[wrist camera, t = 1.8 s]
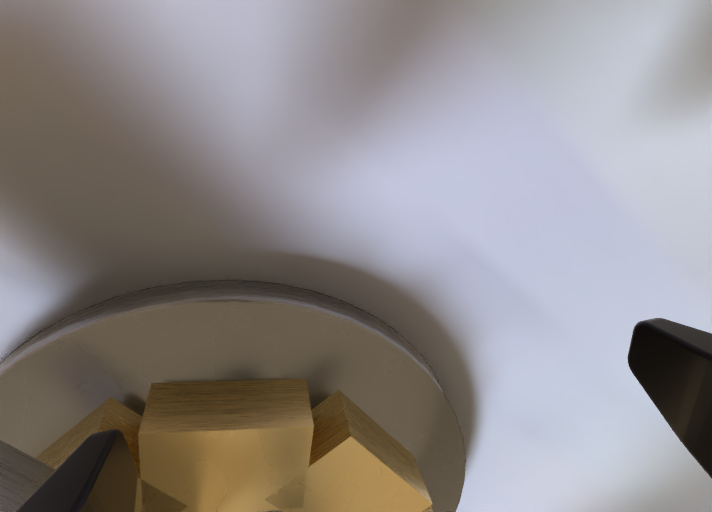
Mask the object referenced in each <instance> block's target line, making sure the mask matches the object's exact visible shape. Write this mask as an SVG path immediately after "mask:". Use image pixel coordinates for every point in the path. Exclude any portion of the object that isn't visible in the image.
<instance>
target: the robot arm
mask: <svg viewBox="0 0 712 512" xmlns="http://www.w3.org/2000/svg"><path fill="white" fill-rule="evenodd" d="M628 364H629V367H630V369H631V371H632V373H633V374H634V376H635V377H636V378H637V380H638V381H639V383H640V384H641V385H642V387H643V388H644V390H645V391H646V393H647V394H648V395H649V397H650V398H651V400H652V401H653V403H654V404H655V405H656V407H657V408H658V410H659V411H660V413H661V414H662V415H663V417H664V418H665V420H666V421H667V423H668V424H669V425H670V427H671V428H672V430H673V431H674V432H675V434H676V435H677V437H678V438H679V439H680V441H681V442H682V443H683V445H684V446H685V447H686V448H687V449H688V451H689V452H690V453H691V454H692V456H693V457H694V458H695V459H696V460H697V462H698V463H699V464H700V465H701V466H702V468H703V469H704V470H705V471H706V472H707V473H708V475H709V476H710V477H711V478H712V334H711V333H708V332H705V331H702V330H698V329H695V328H692V327H689V326H685V325H682V324H679V323H676V322H673V321H669V320H666V319H662V318H654V319H649V320H644V321H640V322H638V323H637V324H636V326H635V327H634V330H633V335H632V339H631V344H630V349H629V353H628ZM136 490H137V468H136V464H135V462H134V459H133V457H132V454H131V452H130V449H129V447H128V444H127V442H126V440H125V437H124V435H123V433H122V432H121V431H120V430H118V429H112V430H107V431H102V432H97V433H94V434H91V435H90V436H88V437H87V438H86V439H85V440H84V441H83V442H82V443H81V444H80V445H79V446H78V447H77V448H76V449H75V450H74V452H73V453H72V454H71V455H70V456H69V457H68V458H67V459H66V460H65V461H64V462H63V463H62V464H61V465H60V466H59V467H58V468H57V469H56V470H55V471H54V472H53V473H52V474H51V475H50V476H49V477H48V478H47V480H46V481H45V482H44V483H43V484H42V485H41V486H40V487H39V488H38V489H37V490H36V491H35V492H34V493H33V494H32V495H31V496H30V497H29V498H28V499H27V500H26V501H25V502H24V503H23V504H22V505H21V506H20V508H19V509H18V510H17V511H16V512H135V501H136Z"/></svg>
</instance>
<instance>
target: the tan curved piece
mask: <svg viewBox="0 0 712 512" xmlns="http://www.w3.org/2000/svg"><path fill="white" fill-rule="evenodd" d="M112 429H118V430H120V431H121V432H122V433H123V435H124V437H125V440H126V442H127V444H128V447H129V449H130V452H131V454H132V457H133V459H134V462H135V464H136V468H137V490H136V501H135V512H262V511H273V510H281V511H283V512H433V510H432V507H431V505H432V501H431V499H430V496H429V494H428V491H427V488H426V486H425V483H424V481H423V478H422V476H421V473H420V471H419V468H418V466H417V463H416V460H415V458H414V456H413V455H412V454H411V453H410V452H409V451H408V450H406V449H405V448H404V447H403V446H402V445H401V444H400V443H399V442H397V441H396V440H395V439H394V438H393V437H392V436H391V435H390V434H388V433H387V432H386V431H385V430H384V429H383V428H382V427H381V426H379V425H378V424H377V423H376V422H375V421H374V420H373V419H371V418H370V417H369V416H368V415H367V414H366V413H365V412H364V411H362V410H361V409H360V408H359V407H358V406H357V405H356V404H355V403H353V402H352V401H351V400H350V399H349V398H348V397H347V396H346V395H344V394H343V393H342V392H341V391H340V390H337V391H336V392H335V393H333V394H332V395H331V396H329V397H328V398H327V399H325V400H324V401H323V402H321V403H320V404H319V405H317V406H316V407H315V408H313V409H312V410H311V406H310V400H309V394H308V389H307V383H306V379H284V380H245V381H207V382H168V383H151V387H150V390H149V394H148V398H147V402H146V406H145V410H144V413H143V417H141V416H140V415H138V414H137V413H135V412H134V411H132V410H131V409H129V408H128V407H126V406H124V405H123V404H121V403H120V402H118V401H117V400H115V399H114V398H112V397H110V398H109V399H107V400H106V401H105V402H104V403H102V404H101V405H100V406H99V407H97V408H96V409H95V410H94V411H92V412H91V413H90V414H89V415H87V416H86V417H85V418H84V419H83V420H81V421H80V422H79V423H78V424H76V425H75V426H74V427H73V428H71V429H70V430H69V431H68V432H66V433H65V434H64V435H63V436H61V437H60V438H59V439H58V440H56V441H55V442H54V443H53V444H51V445H50V446H49V447H48V448H46V449H45V450H44V451H43V452H42V453H40V454H39V455H38V456H37V457H35V458H33V457H31V456H30V455H28V454H26V453H24V452H22V451H20V450H18V449H16V448H14V447H13V446H11V445H9V444H7V443H5V442H3V441H1V440H0V512H16V511H17V510H18V509H19V508H20V506H21V505H22V504H23V503H24V502H25V501H26V500H27V499H28V498H29V497H30V496H31V495H32V494H33V493H34V492H35V491H36V490H37V489H38V488H39V487H40V486H41V485H42V484H43V483H44V482H45V481H46V480H47V478H48V477H49V476H50V475H51V474H52V473H53V472H54V471H55V470H56V469H57V468H58V467H59V466H60V465H61V464H62V463H63V462H64V461H65V460H66V459H67V458H68V457H69V456H70V455H71V454H72V453H73V452H74V450H75V449H76V448H77V447H78V446H79V445H80V444H81V443H82V442H83V441H84V440H85V439H86V438H87V437H88V436H90V435H91V434H94V433H97V432H102V431H107V430H112Z"/></svg>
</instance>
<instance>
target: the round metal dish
mask: <svg viewBox="0 0 712 512" xmlns="http://www.w3.org/2000/svg"><path fill="white" fill-rule="evenodd" d="M284 379H306V383H307V389H308V394H309V400H310V406H311V410H312V409H313V408H315V407H316V406H317V405H319V404H320V403H321V402H323V401H324V400H325V399H327V398H328V397H329V396H331V395H332V394H333V393H335V392H336V391H337V390H340V391H341V392H342V393H343V394H344V395H346V396H347V397H348V398H349V399H350V400H351V401H352V402H353V403H355V404H356V405H357V406H358V407H359V408H360V409H361V410H362V411H364V412H365V413H366V414H367V415H368V416H369V417H370V418H371V419H373V420H374V421H375V422H376V423H377V424H378V425H379V426H381V427H382V428H383V429H384V430H385V431H386V432H387V433H388V434H390V435H391V436H392V437H393V438H394V439H395V440H396V441H397V442H399V443H400V444H401V445H402V446H403V447H404V448H405V449H406V450H408V451H409V452H410V453H411V454H412V455H413V456H414V458H415V460H416V463H417V466H418V468H419V471H420V473H421V476H422V478H423V481H424V483H425V486H426V488H427V491H428V494H429V496H430V499H431V501H432V505H431V507H432V510H433V512H456V509H457V507H458V504H459V501H460V497H461V493H462V488H463V484H464V477H465V460H466V459H465V450H464V442H463V436H462V433H461V430H460V427H459V423H458V420H457V417H456V415H455V413H454V411H453V409H452V407H451V406H450V404H449V402H448V400H447V398H446V396H445V394H444V392H443V391H442V389H441V387H440V385H439V383H438V381H437V380H436V378H435V376H434V374H433V372H432V370H431V369H430V367H429V366H428V365H427V363H426V362H425V361H424V360H423V358H422V357H421V356H420V355H419V353H418V352H417V351H416V349H415V348H413V347H412V346H411V345H410V344H409V343H408V342H407V341H406V340H405V339H404V338H403V337H401V336H400V335H399V334H398V333H397V332H396V331H395V330H393V329H392V328H390V327H389V326H387V325H386V324H384V323H383V322H381V321H380V320H378V319H377V318H375V317H374V316H372V315H371V314H369V313H367V312H364V311H362V310H360V309H358V308H356V307H354V306H352V305H350V304H348V303H346V302H344V301H341V300H338V299H335V298H332V297H329V296H326V295H323V294H320V293H317V292H314V291H311V290H306V289H301V288H296V287H291V286H286V285H281V284H276V283H266V282H254V281H241V280H222V281H194V282H187V283H180V284H173V285H167V286H160V287H153V288H149V289H146V290H142V291H138V292H134V293H130V294H127V295H123V296H119V297H115V298H112V299H110V300H107V301H105V302H102V303H99V304H97V305H94V306H92V307H89V308H87V309H84V310H82V311H79V312H76V313H74V314H73V315H71V316H69V317H67V318H65V319H63V320H62V321H60V322H58V323H56V324H54V325H52V326H50V327H49V328H47V329H45V330H43V331H41V332H40V333H38V334H37V335H36V336H34V337H33V338H32V339H30V340H29V341H27V342H26V343H25V344H23V345H22V346H21V347H19V348H18V349H16V350H15V351H14V352H12V353H11V354H10V355H9V356H8V357H7V358H6V359H5V360H4V361H3V362H2V363H1V364H0V440H1V441H3V442H5V443H7V444H9V445H11V446H13V447H14V448H16V449H18V450H20V451H22V452H24V453H26V454H28V455H30V456H31V457H33V458H35V457H37V456H38V455H39V454H40V453H42V452H43V451H44V450H45V449H46V448H48V447H49V446H50V445H51V444H53V443H54V442H55V441H56V440H58V439H59V438H60V437H61V436H63V435H64V434H65V433H66V432H68V431H69V430H70V429H71V428H73V427H74V426H75V425H76V424H78V423H79V422H80V421H81V420H83V419H84V418H85V417H86V416H87V415H89V414H90V413H91V412H92V411H94V410H95V409H96V408H97V407H99V406H100V405H101V404H102V403H104V402H105V401H106V400H107V399H109V398H110V397H112V398H114V399H115V400H117V401H118V402H120V403H121V404H123V405H124V406H126V407H128V408H129V409H131V410H132V411H134V412H135V413H137V414H138V415H140V416H141V417H143V413H144V410H145V406H146V402H147V398H148V394H149V390H150V387H151V383H168V382H207V381H245V380H284ZM262 512H283V511H281V510H273V511H262Z"/></svg>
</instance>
